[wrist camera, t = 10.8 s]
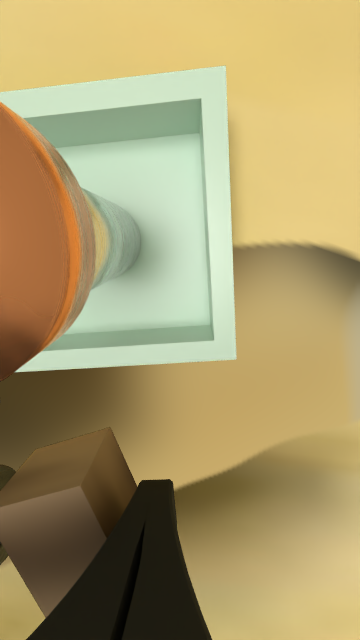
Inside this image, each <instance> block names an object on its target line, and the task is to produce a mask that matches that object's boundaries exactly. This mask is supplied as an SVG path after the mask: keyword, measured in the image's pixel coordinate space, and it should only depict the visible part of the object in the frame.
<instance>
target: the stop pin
mask: <svg viewBox="0 0 360 640" xmlns="http://www.w3.org/2000/svg"><path fill="white" fill-rule="evenodd" d="M140 249H141V235H140V231H139V228H138V225H137V223H136V222H135V220H134V218H133V217H132V216H131V215H130V214H129V213H128V212H127V211H126V210H125V209H124V208H122V207H120V206H118V205H116V204H114V203H112V202H110V201H108V200H106V199H104V198H102V197H100V196H98V195H96V194H94V193H92V192H90V191H88V190H86V189H84V188H82V187H80V185H79V183H78V181H77V179H76V177H75V176H74V174H73V172H72V171H71V169H70V167H69V166H68V164H67V163H66V161H65V160H64V159H63V157H62V156H61V155H60V154H59V152H58V151H57V150H56V148H55V147H54V146H53V145H52V144H51V143H50V142H49V141H48V140H47V139H46V138H45V137H44V136H43V135H42V134H41V133H40V132H39V131H38V130H37V129H36V128H35V127H33V126H32V125H31V124H30V123H28V122H27V121H26V120H25V119H23V118H22V117H21V116H19V115H18V114H17V113H15V112H14V111H13V110H11V109H10V108H8V107H7V106H6V105H4V104H3V103H2V102H0V382H1V381H2V380H4V379H6V378H7V377H9V376H10V375H11V374H12V373H14V372H15V371H16V370H18V369H19V368H20V367H22V366H23V365H24V364H26V363H27V362H28V361H30V360H31V359H32V358H34V357H35V356H36V355H37V354H39V353H40V352H41V351H43V350H44V349H45V348H47V347H48V346H49V345H51V344H52V343H53V342H54V341H56V340H57V339H58V338H59V337H61V336H62V335H63V334H64V333H65V332H66V331H67V330H68V329H69V328H70V327H71V326H72V325H73V323H74V322H75V320H76V319H77V317H78V316H79V314H80V313H81V311H82V309H83V307H84V305H85V303H86V301H87V299H88V296H89V293H90V291H91V290H93V289H94V288H96V287H98V286H100V285H102V284H104V283H106V282H108V281H110V280H112V279H114V278H116V277H118V276H119V275H121V274H123V273H125V272H127V271H128V270H129V269H130V268H131V267H132V266H133V265H134V264H135V262H136V260H137V259H138V256H139V254H140Z"/></svg>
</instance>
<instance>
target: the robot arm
mask: <svg viewBox="0 0 360 640" xmlns="http://www.w3.org/2000/svg"><path fill="white" fill-rule="evenodd" d="M26 640H212V638H211V635H210V633H209V630H208V628H207V625H206V623H205V620H204V618H203V615H202V612H201V610H200V607H199V604H198V601H197V598H196V595H195V592H194V589H193V586H192V583H191V580H190V577H189V574H188V571H187V567H186V564H185V560H184V557H183V553H182V549H181V545H180V541H179V537H178V532H177V519H176V509H175V499H174V489H173V482H172V481H171V480H170V479H166V480H142V481H141V482H140V483H139V485H138V487H137V489H136V491H135V493H134V495H133V496H132V498H131V500H130V502H129V504H128V505H127V507H126V509H125V511H124V512H123V514H122V516H121V517H120V519H119V520H118V522H117V524H116V525H115V527H114V528H113V530H112V532H111V533H110V535H109V536H108V538H107V539H106V541H105V542H104V544H103V545H102V547H101V548H100V550H99V551H98V552H97V554H96V555H95V557H94V558H93V560H92V561H91V563H90V564H89V565H88V567H87V568H86V569H85V571H84V572H83V573H82V575H81V576H80V577H79V579H78V580H77V581H76V582H75V584H74V585H73V586H72V587H71V589H70V590H69V591H68V592H67V594H66V595H65V596H64V597H63V598H62V600H61V601H60V602H59V603H58V604H57V606H56V607H55V608H54V609H53V610H52V611H51V613H50V614H49V615H48V616H47V617H46V618H45V620H44V621H43V622H42V623H41V624H40V625H39V626H38V627H37V629H36V630H35V631H34V632H33V633H32V634H31V635H30V636H29V637H28V638H27V639H26Z"/></svg>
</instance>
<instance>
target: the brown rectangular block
mask: <svg viewBox="0 0 360 640" xmlns="http://www.w3.org/2000/svg"><path fill="white" fill-rule="evenodd" d="M136 489H137V485H136V483H135V481H134V478H133V476H132V474H131V472H130V470H129V468H128V465H127V463H126V461H125V459H124V457H123V454H122V452H121V450H120V448H119V445H118V443H117V441H116V439H115V437H114V434H113V432H112V430H111V428H110V427H109V428H106V429H102V430H99V431H95V432H92V433H89V434H85V435H82V436H79V437H75V438H72V439H68V440H65V441H61V442H58V443H55V444H51V445H48V446H44V447H41V448H37V449H35V450H34V452H33V453H32V454H31V455H30V456H29V457H28V459H27V460H26V461H25V462H24V463H23V464H22V466H21V467H20V468H19V469H18V470H17V472H16V473H15V474H14V475H13V476H12V478H11V479H10V480H9V481H8V482H7V484H6V485H5V486H4V487H3V488H2V490H1V491H0V542H1V544H2V545H3V547H4V549H5V550H6V552H7V554H8V555H9V557H10V559H11V560H12V562H13V564H14V565H15V567H16V569H17V570H18V572H19V574H20V575H21V577H22V579H23V580H24V582H25V584H26V586H27V587H28V589H29V591H30V592H31V594H32V596H33V597H34V599H35V601H36V602H37V604H38V606H39V607H40V609H41V611H42V612H43V614H44V616H45V617H47V616H48V615H49V614H50V613H51V611H52V610H53V609H54V608H55V607H56V606H57V604H58V603H59V602H60V601H61V600H62V598H63V597H64V596H65V595H66V594H67V592H68V591H69V590H70V589H71V587H72V586H73V585H74V584H75V582H76V581H77V580H78V579H79V577H80V576H81V575H82V573H83V572H84V571H85V569H86V568H87V567H88V565H89V564H90V563H91V561H92V560H93V558H94V557H95V555H96V554H97V552H98V551H99V550H100V548H101V547H102V545H103V544H104V542H105V541H106V539H107V538H108V536H109V535H110V533H111V532H112V530H113V528H114V527H115V525H116V524H117V522H118V520H119V519H120V517H121V516H122V514H123V512H124V511H125V509H126V507H127V505H128V504H129V502H130V500H131V498H132V496H133V495H134V493H135V491H136Z"/></svg>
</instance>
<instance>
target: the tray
mask: <svg viewBox="0 0 360 640" xmlns="http://www.w3.org/2000/svg"><path fill="white" fill-rule="evenodd" d="M0 102H2V103H3V104H4V105H6V106H7V107H8V108H10V109H11V110H13V111H14V112H15V113H17V114H18V115H19V116H21V117H22V118H23V119H25V120H26V121H27V122H28V123H30V124H31V125H32V126H33V127H35V128H36V129H37V130H38V131H39V132H40V133H41V134H42V135H43V136H44V137H45V138H46V139H47V140H48V141H49V142H50V143H51V144H52V145H53V146H54V147H55V148H56V150H57V151H58V152H59V154H60V155H61V156H62V157H63V159H64V160H65V161H66V163H67V164H68V166H69V167H70V169H71V171H72V172H73V174H74V176H75V177H76V179H77V181H78V183H79V185H80V187H82V188H84V189H86V190H88V191H90V192H92V193H94V194H96V195H98V196H100V197H102V198H104V199H106V200H108V201H110V202H112V203H114V204H116V205H118V206H120V207H122V208H124V209H125V210H126V211H127V212H128V213H129V214H130V215H131V216H132V217H133V218H134V220H135V222H136V223H137V225H138V228H139V231H140V235H141V249H140V254H139V256H138V259H137V260H136V262H135V264H134V265H133V266H132V267H131V268H130V269H129V270H128V271H127V272H125V273H123V274H121V275H119V276H118V277H116V278H114V279H112V280H110V281H108V282H106V283H104V284H102V285H100V286H98V287H96V288H94V289H93V290H91V291H90V293H89V296H88V299H87V301H86V303H85V305H84V307H83V309H82V311H81V313H80V314H79V316H78V317H77V319H76V320H75V322H74V323H73V325H72V326H71V327H70V328H69V329H68V330H67V331H66V332H65V333H64V334H63V335H62V336H61V337H59V338H58V339H57V340H56V341H54V342H53V343H52V344H51V345H49V346H48V347H47V348H45V349H44V350H43V351H41V352H40V353H39V354H37V355H36V356H35V357H34V358H32V359H31V360H30V361H28V362H27V363H26V364H24V365H23V366H22V367H20V368H19V369H18V370H16V371H15V372H26V371H43V370H61V369H79V368H96V367H114V366H131V365H148V364H166V363H183V362H200V361H217V360H235V359H236V334H235V308H234V284H233V283H234V281H233V253H232V225H231V198H230V171H229V143H228V116H227V89H226V66H219V67H210V68H202V69H193V70H185V71H176V72H168V73H160V74H151V75H143V76H134V77H126V78H117V79H109V80H100V81H92V82H84V83H75V84H67V85H58V86H50V87H41V88H33V89H24V90H16V91H8V92H0Z"/></svg>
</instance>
